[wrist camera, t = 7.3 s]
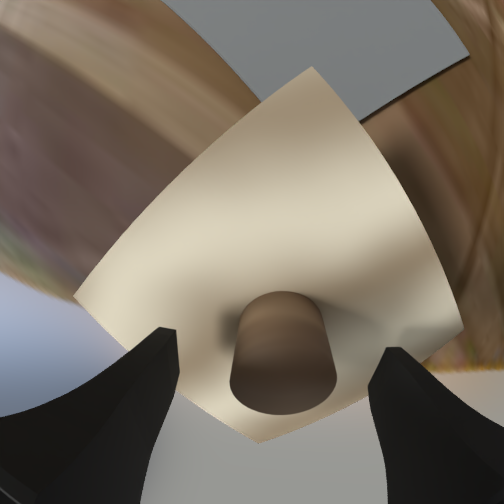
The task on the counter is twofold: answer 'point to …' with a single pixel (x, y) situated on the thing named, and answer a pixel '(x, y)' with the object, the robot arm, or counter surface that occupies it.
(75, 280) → the counter surface
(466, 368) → the counter surface
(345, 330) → the lid
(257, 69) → the mat
